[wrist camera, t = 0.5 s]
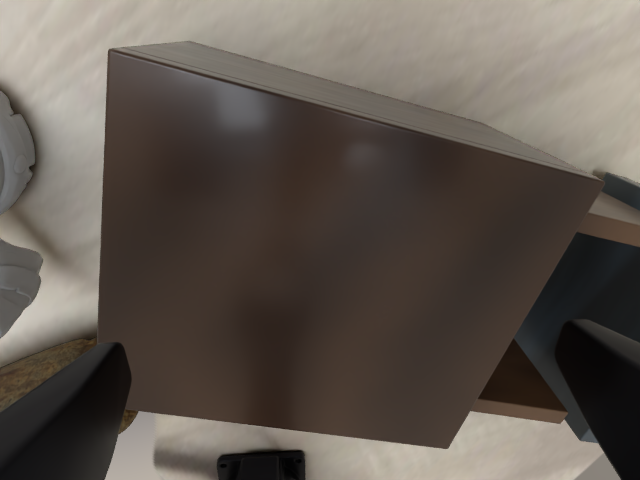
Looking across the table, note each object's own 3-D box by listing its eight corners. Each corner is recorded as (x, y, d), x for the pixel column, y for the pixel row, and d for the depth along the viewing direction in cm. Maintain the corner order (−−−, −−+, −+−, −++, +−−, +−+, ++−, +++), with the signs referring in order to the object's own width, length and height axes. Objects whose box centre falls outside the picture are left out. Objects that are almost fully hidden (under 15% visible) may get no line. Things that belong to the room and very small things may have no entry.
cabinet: (483, 123, 21) (607, 182, 13) (398, 320, 26) (448, 450, 18) (187, 40, 18) (106, 47, 10) (161, 277, 23) (93, 406, 15)
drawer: (643, 182, 22) (794, 246, 15) (540, 345, 27) (621, 447, 20) (384, 111, 19) (433, 152, 13) (321, 306, 24) (333, 408, 18)
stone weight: (-11, 456, 29) (-88, 566, 23) (-100, 396, 26) (-214, 504, 20) (164, 375, 27) (128, 473, 21) (89, 298, 24) (22, 387, 18)
